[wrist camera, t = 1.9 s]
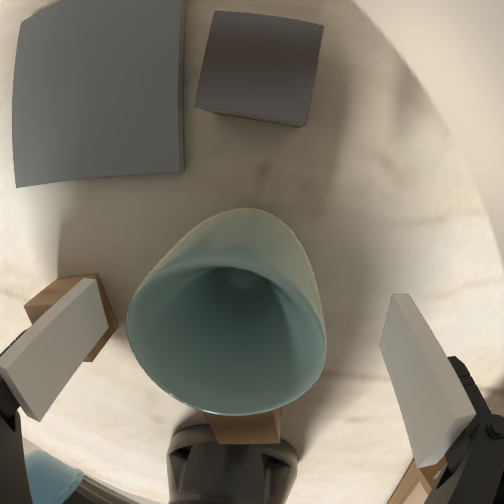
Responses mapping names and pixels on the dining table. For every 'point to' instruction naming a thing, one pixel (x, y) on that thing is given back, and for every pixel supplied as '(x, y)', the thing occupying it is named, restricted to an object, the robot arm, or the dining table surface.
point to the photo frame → (417, 484)
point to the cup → (231, 316)
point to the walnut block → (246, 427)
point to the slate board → (99, 91)
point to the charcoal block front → (259, 67)
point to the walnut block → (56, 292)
